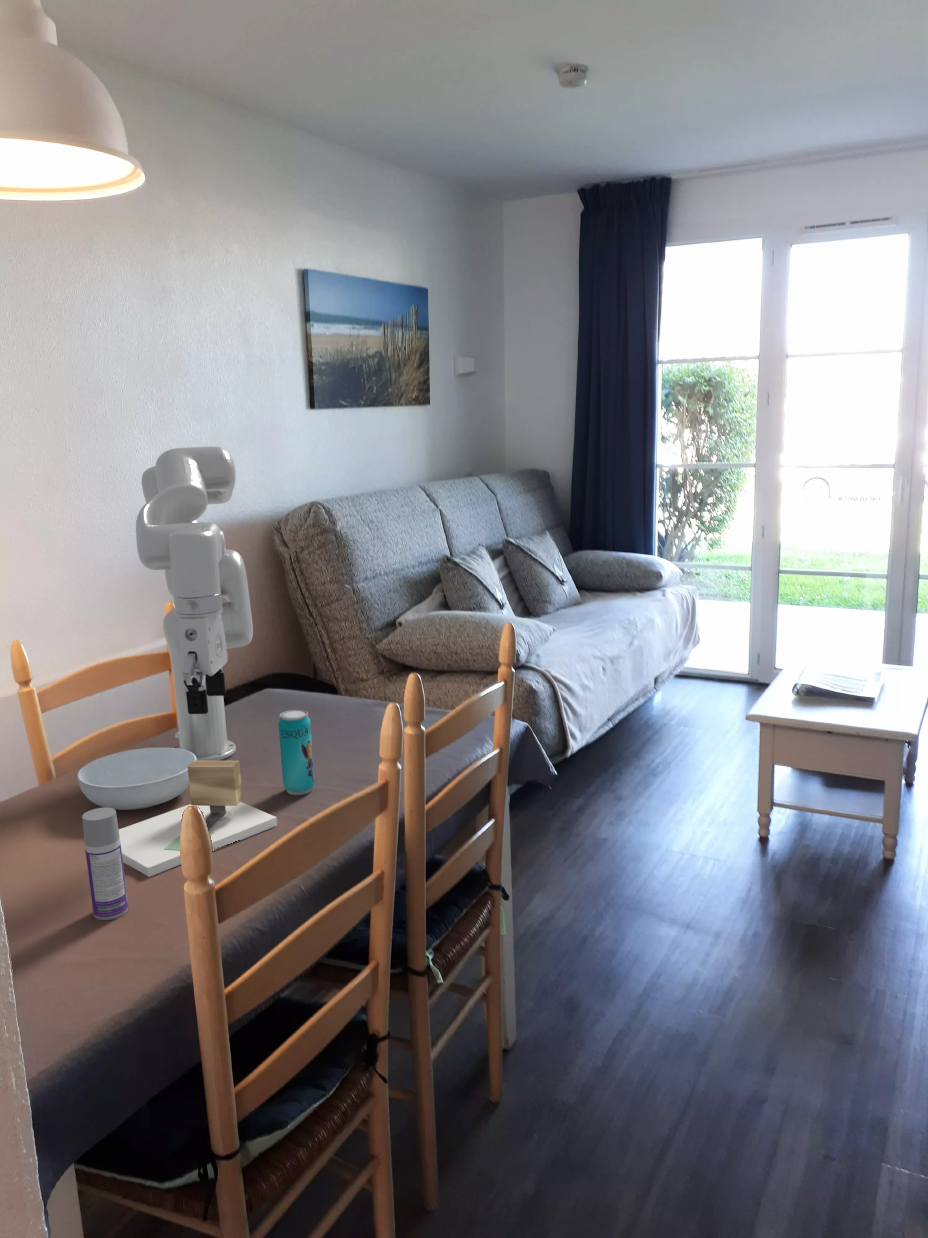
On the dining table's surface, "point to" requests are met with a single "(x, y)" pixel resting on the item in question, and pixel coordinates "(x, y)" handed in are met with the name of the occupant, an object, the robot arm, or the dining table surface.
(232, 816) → the dial board
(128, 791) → the serving bowl
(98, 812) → the container
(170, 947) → the dining table surface
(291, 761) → the beverage can
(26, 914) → the dining table surface
